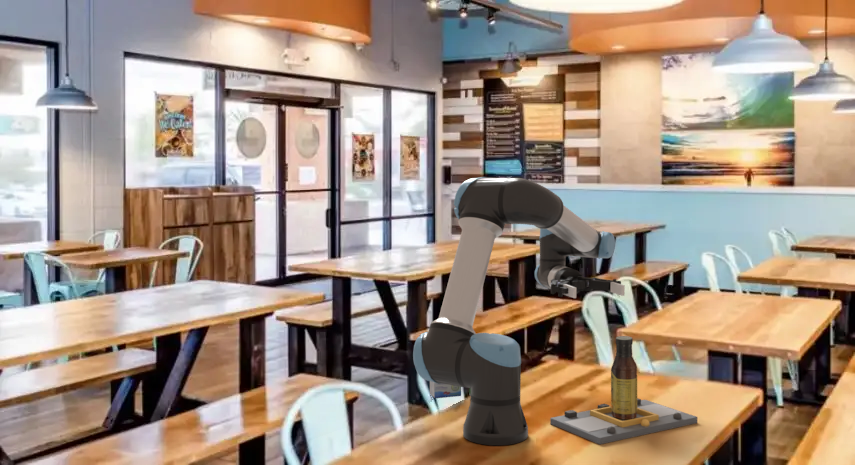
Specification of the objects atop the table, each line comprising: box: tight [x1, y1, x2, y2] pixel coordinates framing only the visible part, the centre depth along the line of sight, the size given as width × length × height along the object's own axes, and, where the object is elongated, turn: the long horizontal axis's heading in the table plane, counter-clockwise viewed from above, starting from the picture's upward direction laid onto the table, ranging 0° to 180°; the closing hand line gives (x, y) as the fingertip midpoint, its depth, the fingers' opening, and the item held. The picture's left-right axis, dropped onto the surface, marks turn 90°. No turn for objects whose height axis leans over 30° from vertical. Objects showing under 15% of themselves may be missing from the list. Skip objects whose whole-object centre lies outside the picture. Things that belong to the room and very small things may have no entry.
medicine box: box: [429, 381, 462, 399], centre depth 242 cm, size 8×4×9 cm, turn 105°
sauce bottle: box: [610, 335, 638, 420], centre depth 215 cm, size 6×6×20 cm
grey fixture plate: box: [549, 397, 698, 445], centre depth 216 cm, size 31×18×3 cm, turn 120°
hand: (599, 291), depth 229 cm, fingers open, 13 cm apart
